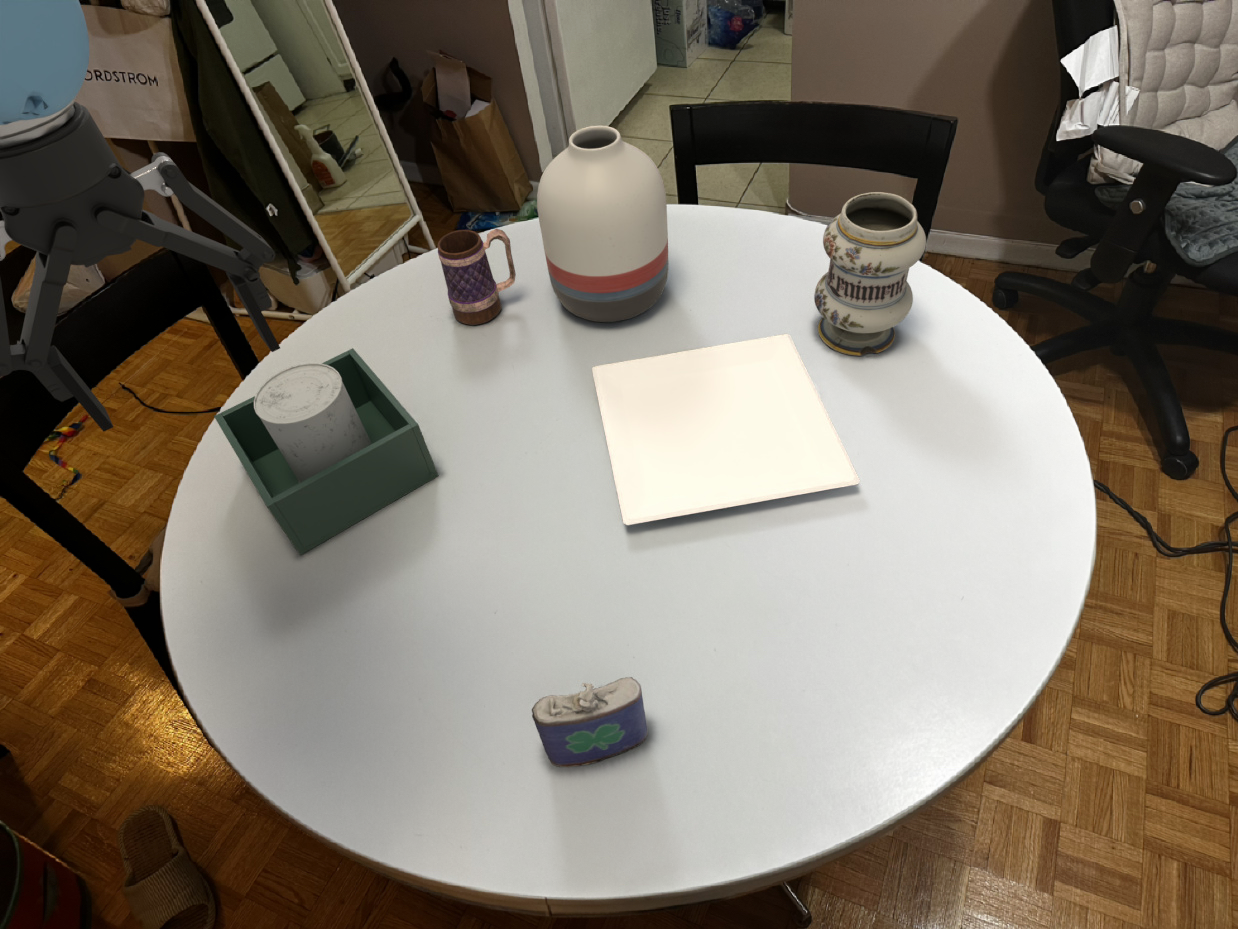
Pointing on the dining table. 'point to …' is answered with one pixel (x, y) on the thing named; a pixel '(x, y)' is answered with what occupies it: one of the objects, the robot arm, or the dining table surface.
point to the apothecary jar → (868, 272)
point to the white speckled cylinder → (310, 418)
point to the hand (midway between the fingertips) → (191, 380)
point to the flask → (591, 723)
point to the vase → (604, 226)
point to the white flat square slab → (717, 429)
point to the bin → (347, 484)
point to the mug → (472, 275)
